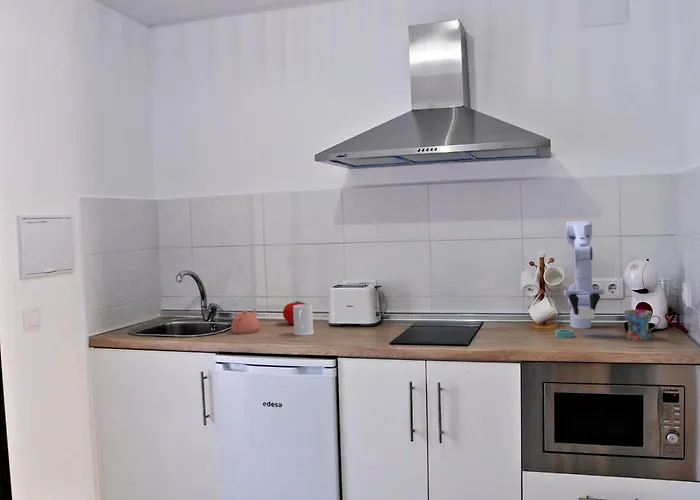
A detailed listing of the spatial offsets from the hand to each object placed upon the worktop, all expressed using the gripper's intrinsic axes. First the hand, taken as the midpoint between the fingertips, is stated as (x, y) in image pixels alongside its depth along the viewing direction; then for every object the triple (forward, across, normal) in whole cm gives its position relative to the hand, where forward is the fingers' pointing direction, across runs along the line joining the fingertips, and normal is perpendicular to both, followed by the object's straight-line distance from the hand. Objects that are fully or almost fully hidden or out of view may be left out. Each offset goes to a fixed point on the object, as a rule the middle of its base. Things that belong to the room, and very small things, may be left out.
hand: (584, 314), depth 248 cm
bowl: (+9, -8, -1) cm, 12 cm away
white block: (+1, 0, 0) cm, 1 cm away
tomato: (+9, -115, +53) cm, 127 cm away
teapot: (+9, -135, +36) cm, 140 cm away
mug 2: (+9, +18, -8) cm, 22 cm away
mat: (+9, +5, +1) cm, 10 cm away
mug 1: (+9, -109, +25) cm, 113 cm away
